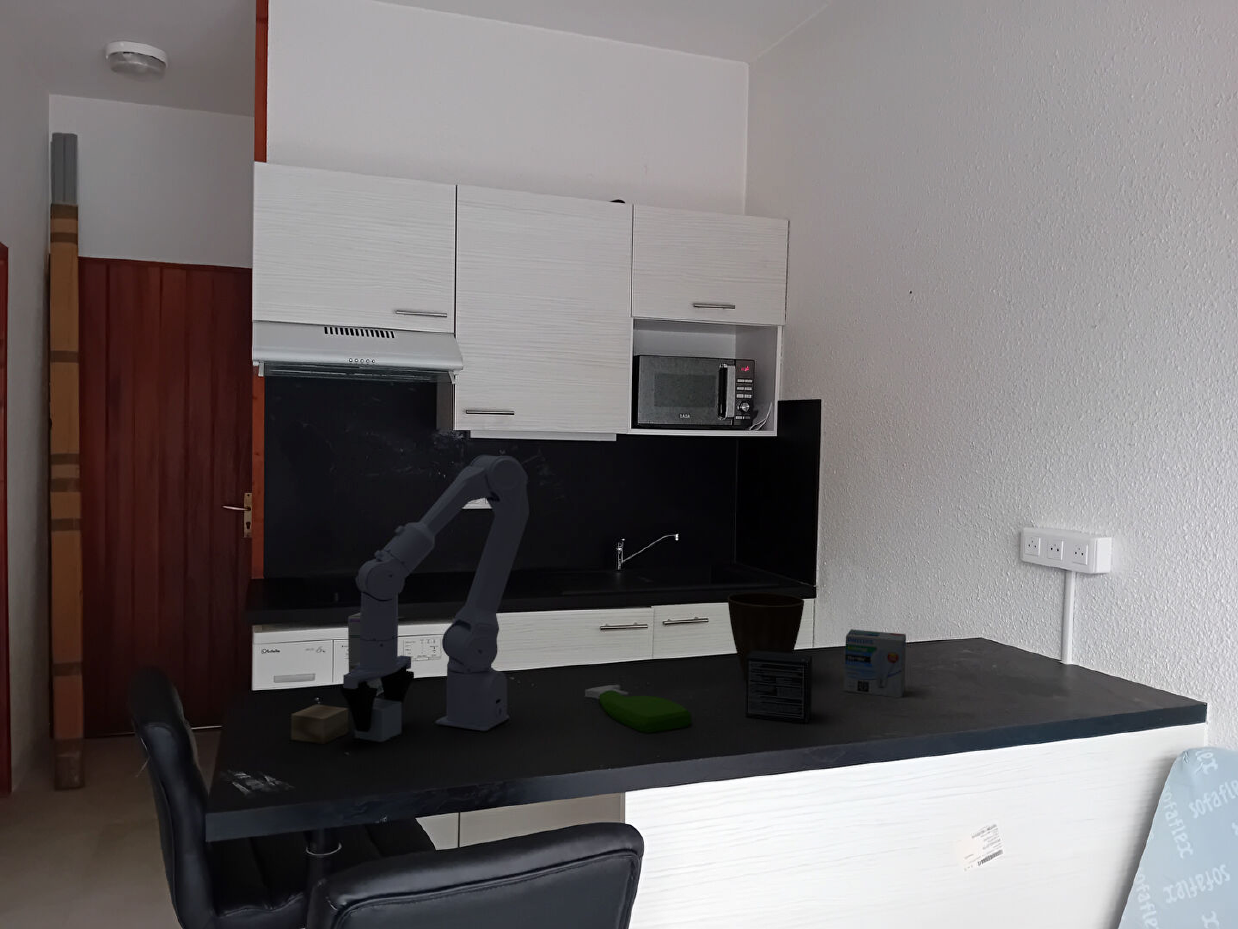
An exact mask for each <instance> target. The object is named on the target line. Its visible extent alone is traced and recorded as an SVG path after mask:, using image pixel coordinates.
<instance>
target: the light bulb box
mask: <svg viewBox="0 0 1238 929" xmlns="http://www.w3.org/2000/svg"><path fill="white" fill-rule="evenodd" d="M844 647H845V650H844V651H845V652H844V681H843V682H844V683H843V686H844V687H843V689H844V690H843V691H844V692H848V693H849V692H850V693H858V694H865V695H875V696H883V697H892V698H899V699H900V698H902V697H903V694H904V691H905V689H906V688H905V687H906V686H905V685H906V650H907V635H906V633H896V632H886V631H884V632H883V631H874V630H873V631H872V630H863V629H862V630H861V629H852V628H851V629H850V630H849V631H848V633H847V634H846V635H845V646H844Z"/></svg>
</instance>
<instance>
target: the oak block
mask: <svg viewBox="0 0 1238 929" xmlns="http://www.w3.org/2000/svg"><path fill="white" fill-rule="evenodd" d="M290 719H291V721H290V730H291V731H290V734H291V735H290V740H294V741H299V742H300V741H301V742H308V743H313V742H316V743H315V744H320V743H321V744H322V745H324V744H327V743H329V742H331V741H333V740H335V739H337V737H338V738H339V737H341V736H344V735H346V734H348V733H349V708H346V707H340V706H339V707H338V706H330V705H325V704H324V705H323V704H318V703H317V704H314V705H312V706H309V707H307V708H305V709H302V710H299V711H297V712H295V713H291V715H290ZM326 742H327V743H326ZM321 744H320V745H321Z"/></svg>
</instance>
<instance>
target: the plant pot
mask: <svg viewBox="0 0 1238 929" xmlns="http://www.w3.org/2000/svg"><path fill="white" fill-rule="evenodd" d="M727 605H728V613H729V620H730V627H731V634H732V638H733V642H734V646H735V651H736V654H737V657H738V658H737V659H738V662H739V665H740V668H741V671H742V675H743V676H744V679H745V680H746V676H747V662H746V657H747V656H748V655H749V654H750V653H751V652H752V651H768V652H780V653H793V654H794V651H795V647H796V643H797V641H798V636H799V632H800V628H801V623H802V618H803V613H804V606H805V600H804V599H803V598H801V597H798V596H795V595H789V594H784V593H783V594H782V593H773V592H742V593H734V594H730V595H728V596H727Z"/></svg>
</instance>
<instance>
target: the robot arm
mask: <svg viewBox="0 0 1238 929" xmlns="http://www.w3.org/2000/svg"><path fill="white" fill-rule="evenodd" d="M528 479H529V476H528V475H527V472H525V470H524V468H523V466H522V465H521V463H520V462H519V461H518V460H517V459H516V458H514V456H510V455H500V456H494V455H489V454H483V455H478V456H477V457H475V458H473V460H472V461H471V462H470V464H469V465H468V466H466V467H464V468H463V469H462V470H461V471H460V472H459V474H458V476H456V478H455V479H454V481H453V482H452V483H451V484H450V485H449V486H448V488H447V489H445V491H444V492H443V493H442V494H441V496H440V497H439V498H438V499H437V501H435V503H434V504H433V505H432V506H431V508H430V509H429V510H428V511H427V512H426V514H424V516H423V517H422V518H421V519H420V520H419V521H418V522H409V523H406V524H405V525H404V526H402V525H399V526H398V527H397V528H396V529H395V530H394V533H395V534H396V535H395V536H393V538H392V539H391V540H390V541H389V542H388V543H387V544H386V545H385V546H384V547H383V548H382V549H381V550H377V551H376V552H375V553H374V557H375V558H376V559H371V560H368V561H365V563H363V564H362V566H361V567H360V568H359V570H358V574H357V576H356V577H355V584H356V586H357V588H358V589H359V590H360V592H361V593H360V609H359V611H360V612H359V613H360V662H359V663H356V664H355V669H354V670H352V671H351V672H349V671H348V673H345V674H343V678H342V679H343V683H342V684H340V692H341V694H342V695H343V697H344V699H345V700H346V704H347V705H348V707H349V710H350V713H351V717H352V721H353V724H354V729H355V728H356V731H362V732H368V731H369V730H370V726H371V717H372V708H373V703H374V699H375V698H376V697H377V696H376V694H377V691H378V688H372V687H369V685H367V682H370V681H373V680H375V679H378V678H380V679H381V682H382V686H383V691H384V692H383V697H384V698H383V699H385V700H392V701H399V702H402V704H401V710H402V709H403V705H404V701H405V698H406V695H407V692H408V690H409V687H410V686H411V684H412V681H413V680H414V678H415V671H412V670H411V671H410V669H412V656H408V655H398V651H399V650H398V649H399V648H398V646H399V637H398V636H399V606H398V605H399V600H398V598H399V594H400V593H402V591H403V589H404V586H405V582H406V578H407V577H408V576H409V575H410V574H411V573H412V572H413V571H414V570H415V569H416V568H417V567H418V565H419V564H420V563H421V562H422V561H423V560H424V559H426V557H427V556H428V555H429V553H431V551H432V550H433V549H434V548H435V542H436V541H435V540H436V539H435V538H436V535H437V534H438V533H439V532H440V531H441V530H442V529H443V528H444V527H445V526H446V525H447V524H448V523H450V522H451V521H452V519H453V518H455V517H456V515H457V514H458V513H460V511H461V510H463V509H464V508H465V506H467V505H468V504H469V503H471V502H472V501H477V500H482V499H486V502H487V503H488V505H489V506H490V508H491V510H492V512H493V514H494V518H493V520H492V525H491V527H490V531H489V533H488V536H487V538H486V542H485V545H484V548H483V550H482V553H481V557H480V559H479V562H478V566H477V569H476V572H475V575H474V577H473V581H472V584H471V586H470V590H469V593H468V596H467V600H466V602H465V605H464V606H463V607H462V608H460V609H459V611H457V613H456V614H455V617H454V619H453V622H452V623H451V625H450V626H449V627H448V628H447V629H446V630H445V631H444V633H443V635H442V639H441V646H442V649H443V652H444V653H445V655H446V656H447V657H448V661H447V664H446V715H444V716H443V717H441V718H438V719H437V720H435V724H436V725H441V726H448V727H454V728H462V729H469V730H475V731H481V732H485V731H489V730H490V729H492V728H494V727H496V726H497V725H499V724H501V723H503V722H504V721H505V722H506V721H507V720H508V719H509V718H510V716H509V715H508V680H507V677H506V674H505V673H504V672H503V671H499V670H496V669H494V668H493V667H492V665H493V663H494V662H495V660H496V657H497V655H498V650H499V649H498V642H497V641H498V636H499V632H500V626H499V621H498V617H497V612H498V609H499V608H500V604H501V601H502V598H503V594H504V592H505V589H506V585H507V582H508V579H509V576H510V573H511V570H512V567H513V565H514V562H515V559H516V555H517V552H518V548H519V547H520V543H521V540H522V537H523V534H524V531H525V527H526V525H527V521H528V519H529V515H530V507H529V500H528V499H529V497H528V491H527V482H528Z"/></svg>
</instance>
